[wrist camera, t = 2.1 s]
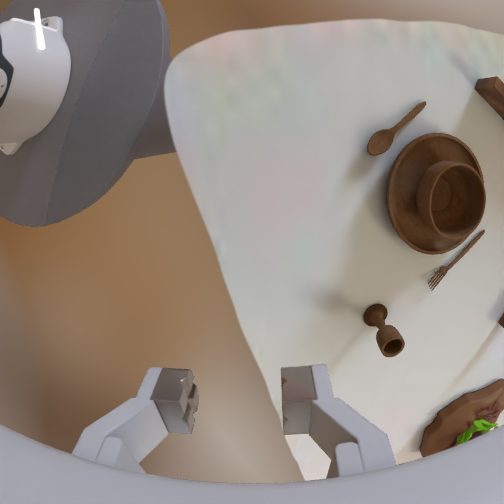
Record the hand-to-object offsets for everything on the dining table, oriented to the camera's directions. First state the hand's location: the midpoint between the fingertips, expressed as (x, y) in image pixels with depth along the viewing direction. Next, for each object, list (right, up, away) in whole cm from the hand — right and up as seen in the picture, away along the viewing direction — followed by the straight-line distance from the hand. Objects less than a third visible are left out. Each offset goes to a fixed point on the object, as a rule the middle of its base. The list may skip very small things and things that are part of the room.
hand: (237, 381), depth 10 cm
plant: (+41, -28, +30) cm, 58 cm away
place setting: (+16, +8, +17) cm, 24 cm away
